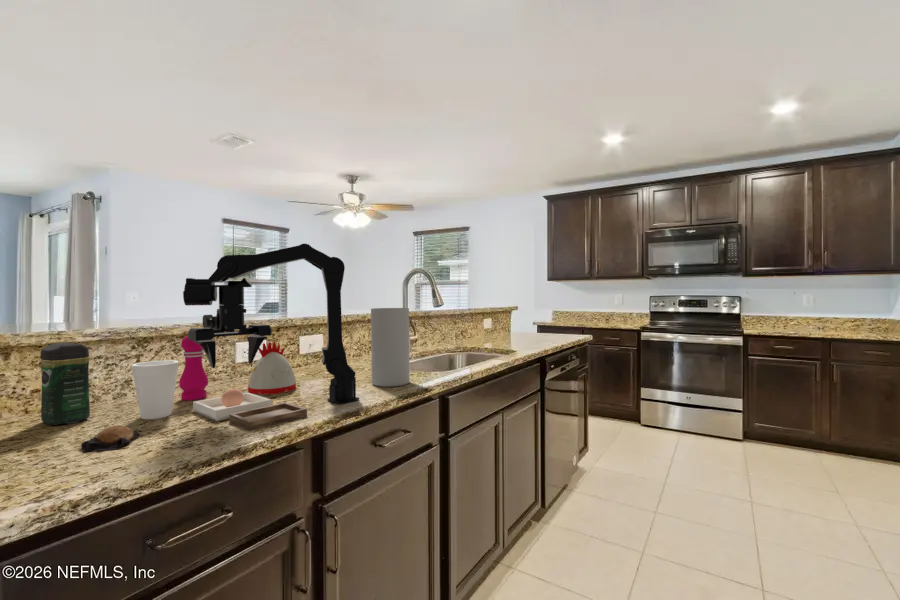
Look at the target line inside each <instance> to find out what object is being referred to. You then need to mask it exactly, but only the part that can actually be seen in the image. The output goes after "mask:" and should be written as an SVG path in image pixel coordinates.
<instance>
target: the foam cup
mask: <svg viewBox="0 0 900 600" xmlns="http://www.w3.org/2000/svg"><path fill="white" fill-rule="evenodd" d="M178 371H179V361H178V360H172V359H170V360H169V359H168V360H167V359H165V360H164V359H163V360H149V361H142V362H135V363H133V364H131V375H132V376H133V382H134V388H135V393H136V399H137V404H138V410H139V414H140V419H143V420H155V419H161V418H166V417H169V416H171V415H172V412H173V406H174V399H175V393H176V385H177V384H176V383H177V378H178Z"/></svg>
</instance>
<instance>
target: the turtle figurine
mask: <svg viewBox="0 0 900 600" xmlns="http://www.w3.org/2000/svg"><path fill="white" fill-rule="evenodd" d="M139 436H140V432H139V431H137V430H133V429H131V428H130V427H128V426H125V425H118V424H117V425H112V426H110V427H107V428H104V429H102V430H100V431H99V432H98V433H97V434H95V435H94V437H92V438H90V439H89V440H86V441H83V442H82V443H81V444H80V447H81V449H82V451H81V452H82V453H83V454H89V453H98V452H108V451H109V452H110V451H115V450H116V451H117V450H121V449H124V448H128V446H130V445H131V444H132V443H133V442H134V441H136V440H137V439H138V438H139Z"/></svg>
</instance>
